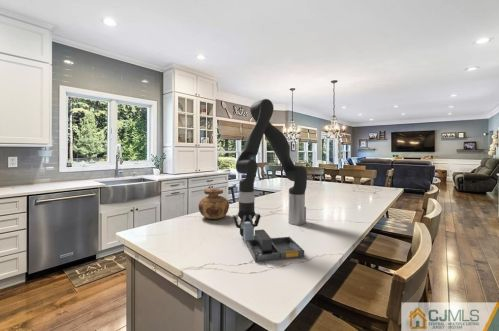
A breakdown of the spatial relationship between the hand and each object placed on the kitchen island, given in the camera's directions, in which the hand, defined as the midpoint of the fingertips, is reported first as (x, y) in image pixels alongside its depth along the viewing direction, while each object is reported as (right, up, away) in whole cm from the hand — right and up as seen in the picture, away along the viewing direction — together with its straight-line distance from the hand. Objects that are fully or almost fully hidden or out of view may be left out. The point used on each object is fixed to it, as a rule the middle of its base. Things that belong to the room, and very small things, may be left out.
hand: (246, 235), depth 119 cm
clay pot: (-21, +1, +35) cm, 41 cm away
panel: (0, -1, 0) cm, 1 cm away
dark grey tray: (+12, -2, -16) cm, 20 cm away
